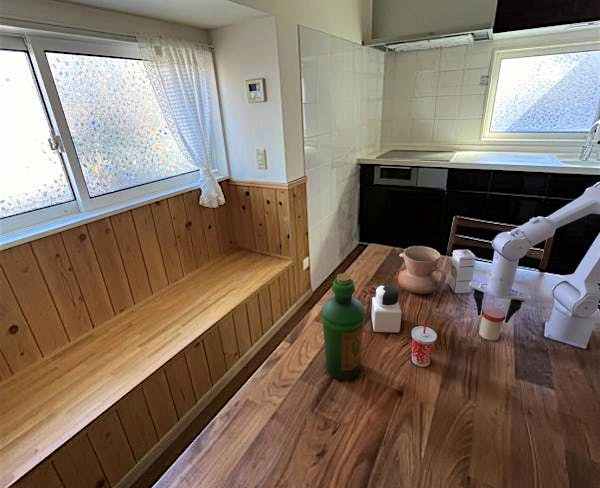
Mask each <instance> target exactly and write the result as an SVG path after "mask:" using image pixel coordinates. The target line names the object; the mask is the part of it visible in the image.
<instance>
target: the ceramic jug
mask: <svg viewBox="0 0 600 488" xmlns="http://www.w3.org/2000/svg"><path fill="white" fill-rule="evenodd" d="M399 258H402V259H403V261H404V263H405V267H406V268H405V269H404V270H400V271H399V273H398V276H397V282H398V284H399V286H400V287H401V288H402V289H403V290H405V291H407V292H408V293H411V294H416V295H429V294H433V293H435V292H437V291H438V290H440V288H441V286H442V285H443V284H444V283H445V282H446V279H447V271H446V270H445V268H443V267H441V266H438V264H439V262H440V258H441V253H440V252H439V251H437V249H434V248H432V247H430V246H429V247H428V246H425V245H413V246H409V247H407V248H404V250H403V252H402V253H400V254H399ZM435 272H440V273H441V278H440V277H439V276H438V275H437V274H436V273H435Z"/></svg>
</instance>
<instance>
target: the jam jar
mask: <svg viewBox="0 0 600 488" xmlns="http://www.w3.org/2000/svg"><path fill="white" fill-rule="evenodd" d="M503 323H504V321H502V322H492V321H489V320H487V319H485V318H484V317H483V316H481V320H480V325H479V328H478V329H479V330H478V334H479V336H480V337H482V338H483V339H485V340H487V341H497V340H499V339H500V335H501V331H502V326H503Z"/></svg>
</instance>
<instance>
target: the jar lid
mask: <svg viewBox="0 0 600 488" xmlns="http://www.w3.org/2000/svg"><path fill="white" fill-rule="evenodd" d="M506 314H507V313H506V312H505V311H504V310H503V308H500V307H498V306H494V305H485V306H484V307H482V310H481V315H482V316H483V317H484V318H485V319H487V320H489V321H492V322H502V321H503V322H505V318H506ZM482 316H481V317H482Z"/></svg>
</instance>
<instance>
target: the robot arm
mask: <svg viewBox="0 0 600 488" xmlns="http://www.w3.org/2000/svg"><path fill="white" fill-rule="evenodd" d="M591 214H593V215H595V214H596V215H600V181H599V182H597V183H595V184H593V185H592V186H590V187H588V188H586V189H585V191H584V192H583V194H582V195H580V196H579V197H578V198H575V199H574V200H572V201H571V202H569V203H567V204H566V205H564V206H562V207H561V208H559V209H558V210H556V211H555V212H553V213H552V214H549V215H548V216H545V217H544V216H537V217H532V218H530V219H529V221H527V222H525V223H523V224H522V225H520V226H517V227H516V228H513V229H511V230H510V231H503V232H500V233H498V234H497V235H496V236H495V237H494V239H491V246H492V248H493V249H494V251H493V258H492V262H491V267H490V272H489V278H488V281H487V282H488V283H486V282H476V281H475V282H474V281H472V282H470V284H469V289H468V290H469V291H470V292H473V296H472V297H473V299H474V302H475V304H476V310H477V316H481V315H482V310H483V301H484V296H485V294H487V295H489V296H492V297H493V298H498V299H504V300H505V299H508V300H510V301H509V306H508V309H507V312H506V313H505V314H506V315H505V319H504V323H505V324H508V323H509V321H510V319H512V317H513V315H515V314H516V313H517V312H518V311H520V309H521V308H522V305H523V304H524V305H527V306H529V305H530V301H531V295H530V294H527V293H523V292H521V291H518V290H517V289H516V290H515V289H513V286H514V282H515V278H516V273H517V270H518V267H519V266H518V265H519V261H520V259H522V258H524V257H525V256H526V254H527V253H528V251H530V250H531V248H532V247H534V246H536V245H538V244H540V243H542V242H543V241H545V240H547V239H549V238H551V237H553V236H554V235H555V232H556V230H557V229H559V228H561V227H563V226H565V225H568V224H569V223H572V222H574V221H576V220H579V219H581V218H583V217H586V216H588V215H591ZM599 283H600V232H599V233H598V235H597V236H596V237H595V239H594V241H593V242H592V244H591V245H590V247H589V249H588V250H587V252H586V254H585V255H584V256H583V258H582V259H581V261H580V263H579V264H578V266H577V268H576V269H575V271H574V272H573V273H571V274H565V275H563V276H562V278H561V279H560V280H559V281H558V282H556V283H555V284H554V285H553V286H552V288H551V290H550V291H551V296H552V297H553V298H554V299H553V302H554V305H553V307H552V310H551V314H550V317H549V321H545V323H544V334H543V336H544V338H547V339H550V340H554V341H557V342H559V343H564V344H566V345H570V346H572V347H573V346H574V347H577V348H579V349H584V350H587V349H588V344H589V341H590V338H591V336H592V333H593V331H594V328H595V325H596V314H594V313H596V311H597V309H598V308H599V302H600V286H599Z"/></svg>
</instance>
